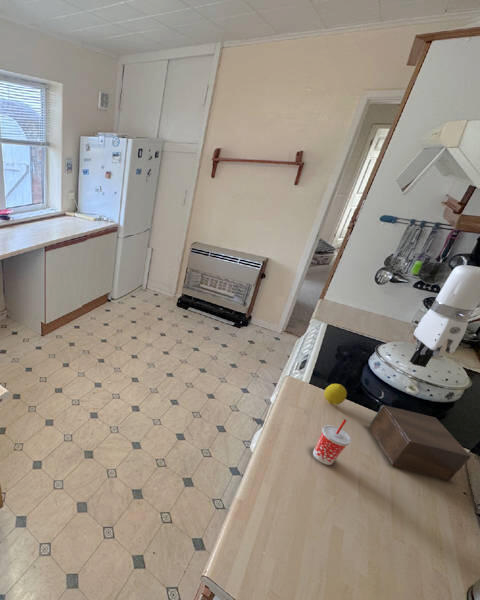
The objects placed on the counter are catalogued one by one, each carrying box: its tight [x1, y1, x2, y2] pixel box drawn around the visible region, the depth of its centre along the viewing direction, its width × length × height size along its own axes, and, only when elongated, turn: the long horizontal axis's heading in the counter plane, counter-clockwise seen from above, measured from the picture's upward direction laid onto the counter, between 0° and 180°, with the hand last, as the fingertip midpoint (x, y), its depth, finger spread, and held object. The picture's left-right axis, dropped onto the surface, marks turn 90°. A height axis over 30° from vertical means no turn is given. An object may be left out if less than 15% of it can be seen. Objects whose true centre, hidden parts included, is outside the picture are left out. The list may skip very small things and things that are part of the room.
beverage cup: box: [312, 419, 352, 466], centre depth 85 cm, size 6×6×14 cm
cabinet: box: [368, 404, 472, 482], centre depth 89 cm, size 14×13×10 cm
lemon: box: [323, 383, 348, 405], centre depth 106 cm, size 6×6×8 cm
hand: (417, 364), depth 96 cm, fingers closed
